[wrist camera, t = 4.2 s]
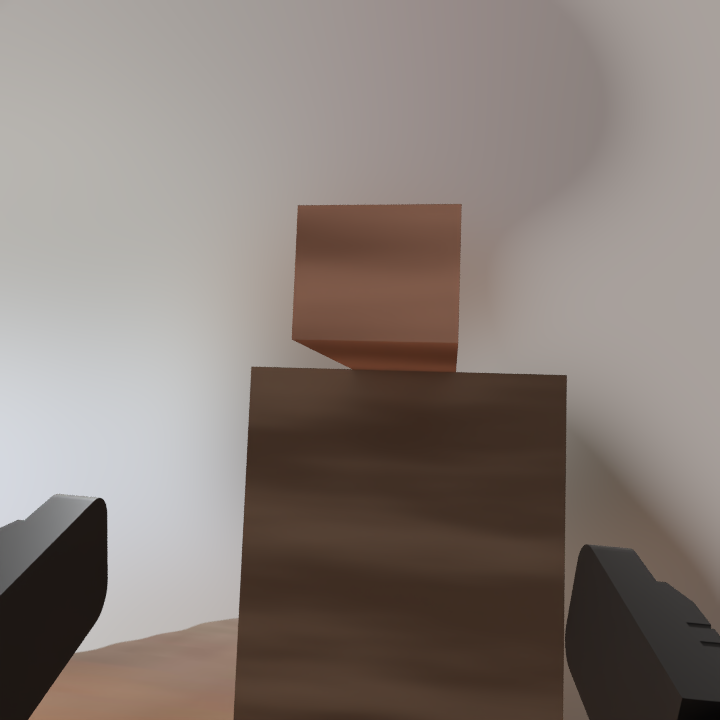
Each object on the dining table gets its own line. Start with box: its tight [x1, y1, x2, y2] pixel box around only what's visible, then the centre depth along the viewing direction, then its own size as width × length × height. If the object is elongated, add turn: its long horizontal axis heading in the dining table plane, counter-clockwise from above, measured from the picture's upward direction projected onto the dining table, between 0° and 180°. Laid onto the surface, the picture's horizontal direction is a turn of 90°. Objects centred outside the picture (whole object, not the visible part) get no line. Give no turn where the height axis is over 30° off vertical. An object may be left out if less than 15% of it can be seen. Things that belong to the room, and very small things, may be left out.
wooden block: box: [292, 204, 462, 372], centre depth 26 cm, size 24×4×3 cm, turn 172°
